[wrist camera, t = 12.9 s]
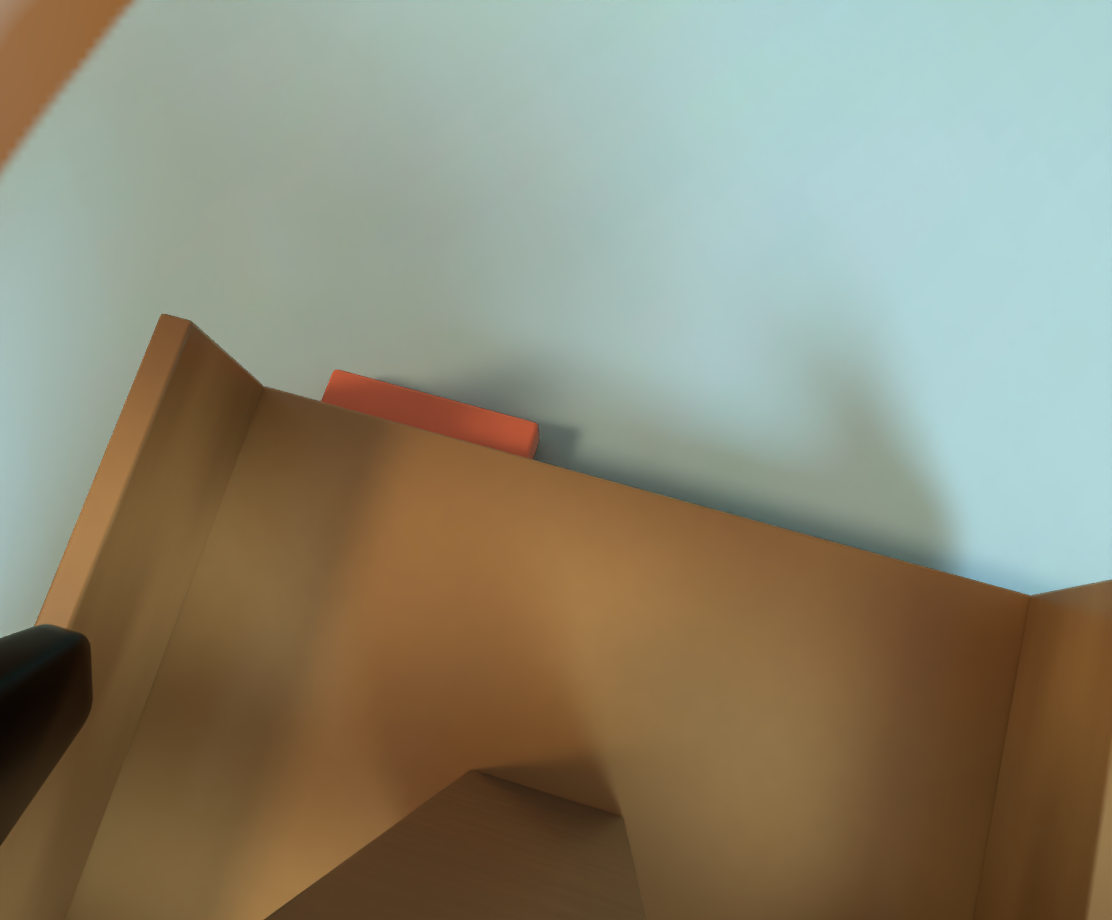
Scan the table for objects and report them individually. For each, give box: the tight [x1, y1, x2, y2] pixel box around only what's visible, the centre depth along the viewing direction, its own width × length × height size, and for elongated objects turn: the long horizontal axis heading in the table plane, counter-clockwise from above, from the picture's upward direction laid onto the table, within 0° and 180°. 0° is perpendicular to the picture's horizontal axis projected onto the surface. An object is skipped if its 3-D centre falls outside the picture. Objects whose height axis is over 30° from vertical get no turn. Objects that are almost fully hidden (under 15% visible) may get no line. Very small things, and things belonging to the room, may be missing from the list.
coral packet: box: [321, 370, 539, 459], centre depth 17 cm, size 5×4×1 cm
